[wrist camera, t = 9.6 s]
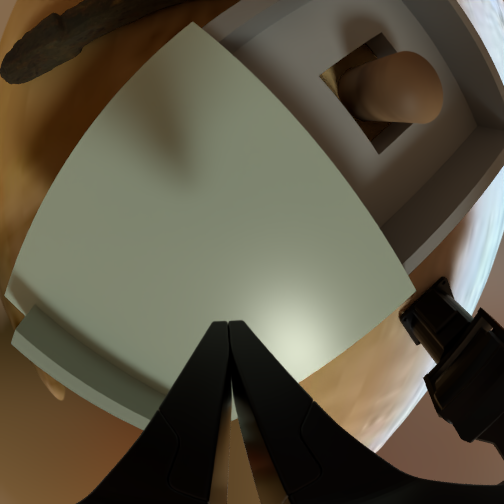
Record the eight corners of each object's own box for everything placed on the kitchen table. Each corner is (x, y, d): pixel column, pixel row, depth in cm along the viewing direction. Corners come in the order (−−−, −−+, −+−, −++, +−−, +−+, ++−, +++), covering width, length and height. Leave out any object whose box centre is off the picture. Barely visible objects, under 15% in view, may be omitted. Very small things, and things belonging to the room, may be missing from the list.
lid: (406, 281, 14) (438, 313, 11) (211, 419, 17) (212, 456, 14) (194, 30, 8) (186, -4, 5) (13, 286, 11) (-16, 318, 8)
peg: (396, 101, 16) (452, 101, 10) (362, 131, 17) (414, 138, 11) (364, 57, 14) (415, 40, 9) (326, 86, 15) (371, 72, 10)
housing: (466, 127, 17) (521, 138, 11) (348, 244, 20) (391, 290, 14) (358, -28, 11) (400, -62, 5) (192, 77, 14) (176, 48, 8)
